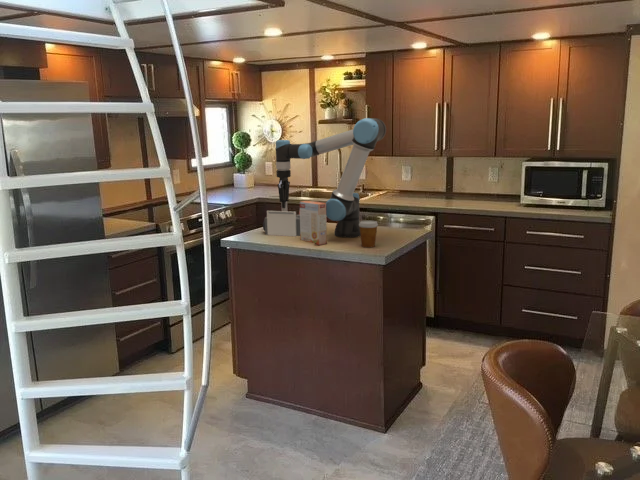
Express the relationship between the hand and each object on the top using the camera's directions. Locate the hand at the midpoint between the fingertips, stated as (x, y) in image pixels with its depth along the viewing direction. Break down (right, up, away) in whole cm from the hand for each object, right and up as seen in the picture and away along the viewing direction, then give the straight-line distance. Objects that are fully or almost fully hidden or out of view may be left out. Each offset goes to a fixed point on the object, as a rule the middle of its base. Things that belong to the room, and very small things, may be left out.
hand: (284, 213), depth 313 cm
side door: (-1, -12, -2) cm, 12 cm away
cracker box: (+16, -16, -16) cm, 27 cm away
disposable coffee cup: (+43, -17, -25) cm, 53 cm away
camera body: (0, -11, +3) cm, 12 cm away
